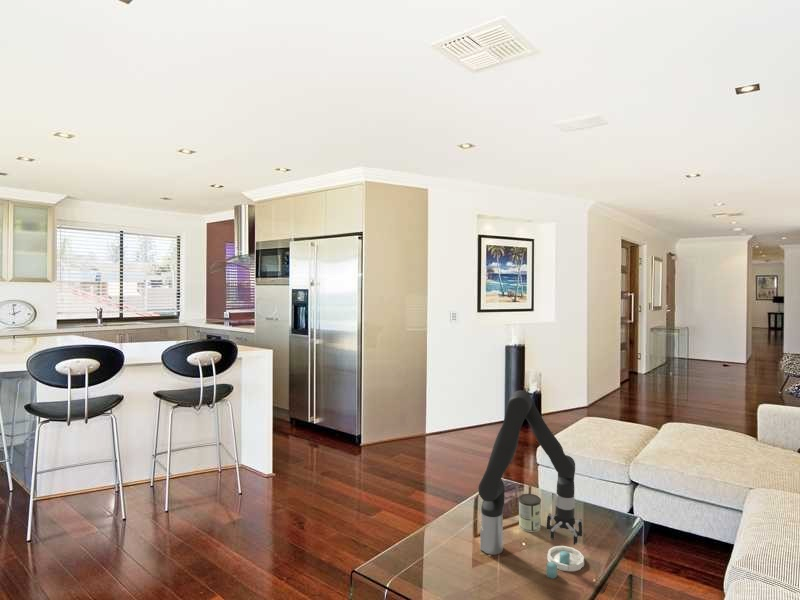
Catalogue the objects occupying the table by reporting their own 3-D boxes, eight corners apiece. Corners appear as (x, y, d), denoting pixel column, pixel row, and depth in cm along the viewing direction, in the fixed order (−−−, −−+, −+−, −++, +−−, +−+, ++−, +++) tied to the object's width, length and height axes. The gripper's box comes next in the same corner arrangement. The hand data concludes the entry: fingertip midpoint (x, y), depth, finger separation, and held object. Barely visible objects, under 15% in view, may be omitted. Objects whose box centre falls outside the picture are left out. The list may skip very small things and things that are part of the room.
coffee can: (522, 519, 257) (522, 491, 255) (543, 524, 251) (543, 496, 250) (515, 528, 248) (515, 500, 247) (536, 534, 242) (536, 505, 241)
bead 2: (559, 565, 217) (559, 555, 217) (560, 560, 221) (560, 550, 221) (569, 567, 216) (569, 557, 215) (570, 562, 219) (570, 552, 219)
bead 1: (545, 577, 211) (545, 566, 211) (547, 571, 215) (547, 561, 214) (556, 579, 210) (556, 569, 209) (557, 573, 213) (557, 563, 213)
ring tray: (544, 566, 218) (544, 561, 218) (550, 547, 232) (550, 542, 232) (582, 574, 212) (582, 569, 212) (585, 554, 226) (585, 549, 225)
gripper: (546, 505, 216) (545, 542, 217) (582, 512, 210) (581, 550, 212) (548, 497, 222) (547, 533, 224) (583, 503, 217) (582, 540, 219)
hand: (563, 541), depth 218 cm, fingers open, 8 cm apart
